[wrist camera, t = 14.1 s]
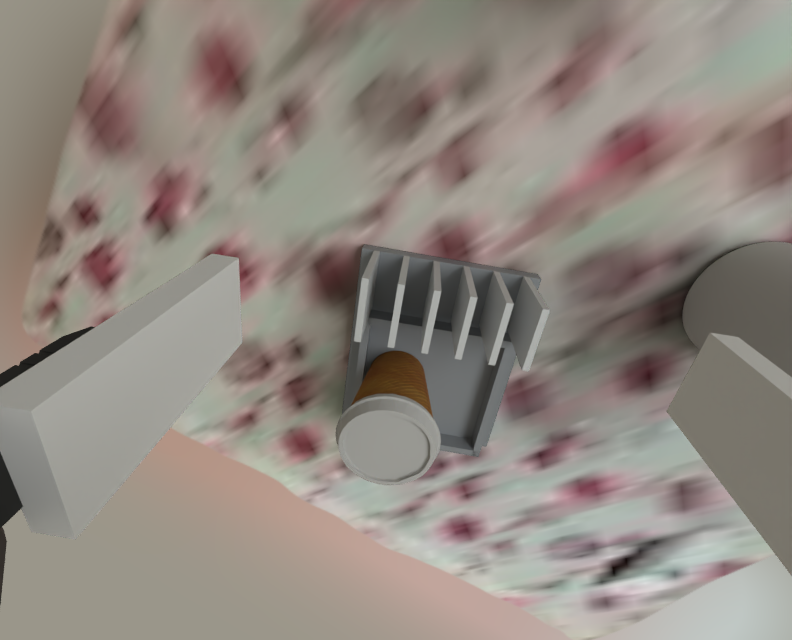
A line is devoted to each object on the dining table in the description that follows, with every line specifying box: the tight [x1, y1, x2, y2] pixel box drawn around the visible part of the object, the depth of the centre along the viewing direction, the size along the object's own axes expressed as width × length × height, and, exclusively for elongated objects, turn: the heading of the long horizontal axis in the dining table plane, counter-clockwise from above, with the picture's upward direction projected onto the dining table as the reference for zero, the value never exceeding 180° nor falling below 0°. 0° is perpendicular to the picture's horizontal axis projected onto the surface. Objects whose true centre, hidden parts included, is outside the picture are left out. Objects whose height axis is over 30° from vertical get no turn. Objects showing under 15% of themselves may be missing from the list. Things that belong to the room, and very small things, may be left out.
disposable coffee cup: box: [336, 351, 441, 485], centre depth 42 cm, size 10×10×12 cm
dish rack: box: [342, 244, 550, 457], centre depth 43 cm, size 22×18×10 cm
